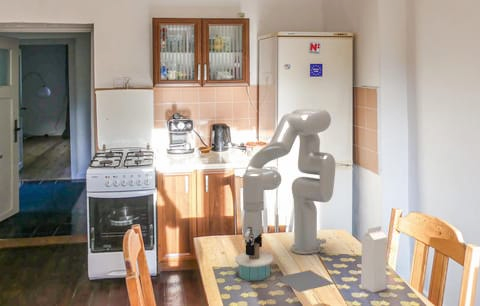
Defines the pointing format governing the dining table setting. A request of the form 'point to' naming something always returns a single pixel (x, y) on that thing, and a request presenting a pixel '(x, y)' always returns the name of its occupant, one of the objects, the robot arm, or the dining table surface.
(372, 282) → the milk
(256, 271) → the bowl
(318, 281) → the mat
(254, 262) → the lid
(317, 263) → the dining table surface
